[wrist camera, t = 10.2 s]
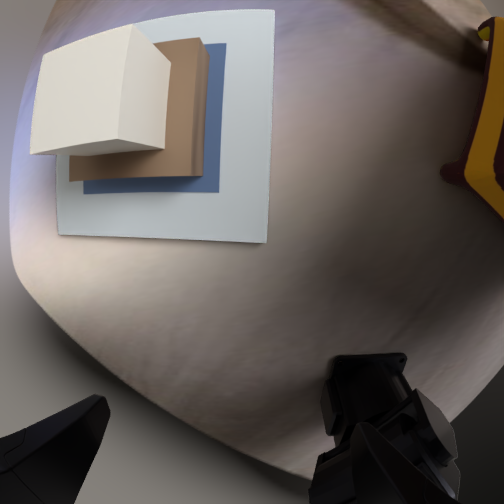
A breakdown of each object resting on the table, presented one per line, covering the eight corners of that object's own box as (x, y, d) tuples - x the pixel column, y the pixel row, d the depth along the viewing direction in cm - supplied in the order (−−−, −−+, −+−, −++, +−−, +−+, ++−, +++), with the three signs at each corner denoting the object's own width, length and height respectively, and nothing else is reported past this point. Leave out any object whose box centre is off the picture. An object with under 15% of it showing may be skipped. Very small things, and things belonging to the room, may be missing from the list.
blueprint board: (274, 16, 15) (274, -14, 11) (266, 239, 19) (266, 256, 15) (78, 46, 15) (50, 31, 11) (65, 231, 19) (33, 243, 16)
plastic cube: (170, 62, 12) (132, 23, 8) (164, 148, 14) (117, 138, 9) (95, 77, 13) (43, 54, 8) (88, 155, 14) (29, 154, 9)
